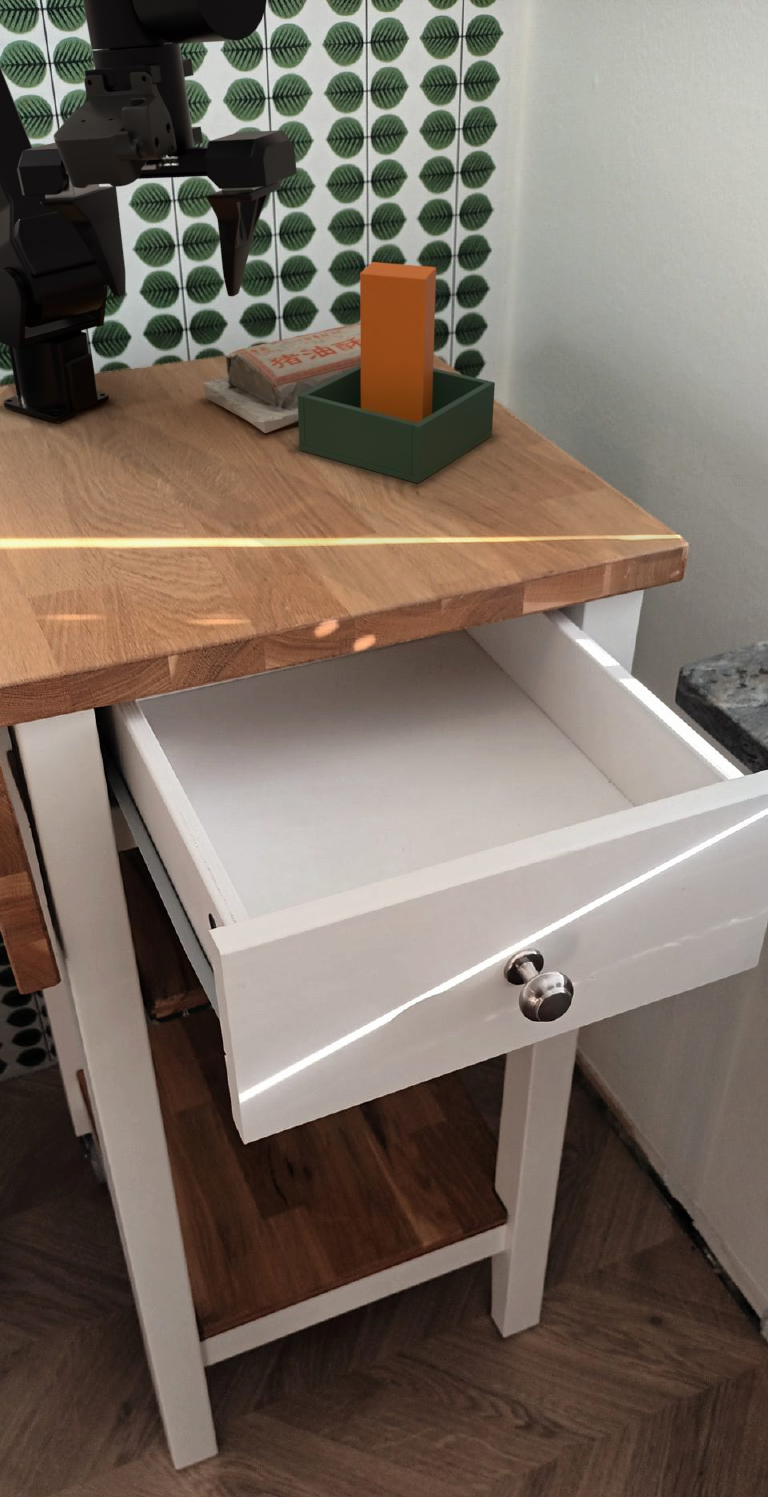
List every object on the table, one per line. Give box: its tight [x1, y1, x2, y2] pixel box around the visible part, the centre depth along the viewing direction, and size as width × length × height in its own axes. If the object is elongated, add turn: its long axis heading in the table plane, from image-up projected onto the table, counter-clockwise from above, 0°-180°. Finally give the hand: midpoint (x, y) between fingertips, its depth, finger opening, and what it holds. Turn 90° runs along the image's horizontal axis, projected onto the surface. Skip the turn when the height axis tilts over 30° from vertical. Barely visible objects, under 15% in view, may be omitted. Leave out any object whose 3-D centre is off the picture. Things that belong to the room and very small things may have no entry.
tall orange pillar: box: [359, 261, 437, 423], centre depth 96 cm, size 5×3×13 cm, turn 74°
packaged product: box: [202, 322, 361, 434], centre depth 107 cm, size 18×5×10 cm
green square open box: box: [297, 364, 496, 484], centre depth 99 cm, size 11×11×4 cm
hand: (175, 295), depth 89 cm, fingers open, 9 cm apart
